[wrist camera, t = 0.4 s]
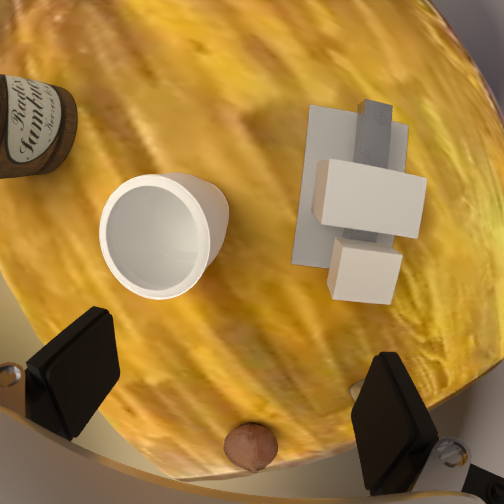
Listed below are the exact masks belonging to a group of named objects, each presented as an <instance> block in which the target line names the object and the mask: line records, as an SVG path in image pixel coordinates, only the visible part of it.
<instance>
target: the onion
mask: <svg viewBox="0 0 504 504" xmlns="http://www.w3.org/2000/svg"><path fill="white" fill-rule="evenodd" d="M242 425H243V426H240V427H237V428H235V429H234V430H233V431H232V432H231V433H229V434H228V435H227V436H226V438H225V443H224V451H225V454H226V456H227V458H228V459H229V460H230V461H231V462H232V463H233V464H235V465H236V466H239V467H241V468H244V469H246V470H248V471H250V472H252V473H257V472H258V471H259V470H262V469H264V468H265V467H266V466H267V465H268V464H270V463H271V462H272V461H273V459H274V458H275V456H276V455H277V452H278V443H277V440H276V438H275V436H274V435H273V433H272V432H271V431H269V430H268V429H266V428H264V427H262V426H260V425H258V424H254V423H246V424H242Z"/></svg>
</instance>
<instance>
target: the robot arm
mask: <svg viewBox="0 0 504 504" xmlns="http://www.w3.org/2000/svg"><path fill="white" fill-rule="evenodd" d="M26 364H27V367H28V368H27V369H26V370H24V369H23V367H22V366H20V365H19V364H16V363H9V362H7V363H3V364H0V504H504V478H502V477H500V476H497V475H495V474H493V473H491V472H488V471H486V470H484V469H482V468H479V467H477V466H475V465H473V464H471V457H472V455H471V451H470V449H469V448H468V446H467V445H466V444H465V443H464V442H463V441H461V440H459V439H457V438H453V437H446V438H442V439H440V440H439V438H438V435H437V434H438V432H437V429H436V427H435V425H434V423H433V421H432V419H431V417H430V415H429V413H428V411H427V409H426V407H425V405H424V403H423V401H422V399H421V397H420V395H419V393H418V391H417V389H416V387H415V385H414V383H413V381H412V379H411V377H410V376H409V374H408V372H407V370H406V368H405V366H404V364H403V363H402V361H401V359H400V357H399V355H398V354H397V353H396V352H380V353H379V355H376V356H375V357H374V358H373V361H372V363H371V366H370V369H369V371H368V374H367V376H366V378H365V381H364V383H363V386H362V388H361V390H360V393H359V395H358V397H357V400H356V402H355V404H354V406H353V408H352V412H351V420H352V424H353V429H354V433H355V438H356V443H357V448H358V453H359V458H360V463H361V468H362V474H363V479H364V485H365V488H366V490H370V495H371V496H369V497H356V498H335V499H298V498H278V497H265V496H256V495H247V494H240V493H232V492H227V491H221V490H215V489H210V488H205V487H200V486H195V485H191V484H187V483H183V482H178V481H175V480H171V479H167V478H163V477H160V476H157V475H154V474H150V473H147V472H144V471H141V470H138V469H135V468H132V467H129V466H126V465H124V464H121V463H118V462H116V461H113V460H110V459H108V458H105V457H103V456H101V455H98V454H96V453H94V452H91V451H89V450H87V449H84V448H83V447H80V446H78V445H76V444H74V443H72V442H71V440H72V439H73V437H75V438H76V437H78V436H79V434H80V433H81V431H82V430H83V429H84V427H85V426H86V424H87V423H88V422H89V420H90V419H91V417H92V416H93V414H94V413H95V412H96V410H97V409H98V407H99V406H100V405H101V403H102V402H103V400H104V399H105V398H106V396H107V395H108V394H109V392H110V391H111V389H112V388H113V387H114V385H115V384H116V382H117V381H118V379H119V377H120V367H119V361H118V354H117V347H116V340H115V332H114V323H113V317H112V315H111V314H110V313H109V311H108V310H107V309H103V308H99V307H96V306H93V307H91V308H90V309H89V310H88V311H86V312H85V313H84V314H83V315H81V316H80V317H79V318H78V319H76V320H75V321H74V322H73V323H72V324H70V325H69V326H68V327H67V328H65V329H64V330H63V331H62V332H61V333H59V334H58V335H57V336H56V337H55V338H53V339H52V340H51V341H50V342H49V343H48V344H46V345H45V346H44V347H43V348H42V349H41V350H39V351H38V352H37V353H36V354H35V355H34V356H33V357H32V358H30V359H29V360H28V361H27V362H26Z"/></svg>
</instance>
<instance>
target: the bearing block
mask: <svg viewBox="0 0 504 504" xmlns="http://www.w3.org/2000/svg"><path fill="white" fill-rule="evenodd" d="M356 126H357V113H355V112H350V111H345V110H339V109H334V108H328V107H322V106H315V105H310V106H309V117H308V127H307V138H306V147H305V157H304V166H303V175H302V183H301V192H300V200H299V208H298V216H297V223H296V231H295V238H294V245H293V253H292V260H291V264H296V265H304V266H312V267H321V268H330V263H331V257H332V252H333V246H334V240H335V237H338V238H342V237H343V231H344V228H351V229H358V230H365V231H371V232H378V235H377V240H376V243H380V244H387V245H390V246H391V247H392V246H393V241H394V236H395V235H397V236H403V237H409V238H415V239H417V238H418V233H419V228H420V223H421V217H422V211H423V205H424V198H425V191H426V184H427V178H423V177H419V176H415V175H411V174H407V173H404V171H405V162H406V152H407V140H408V125H405V124H402V123H398V122H394V121H392V123H391V137H390V149H389V159H388V168H387V169H384V168H379V167H374V166H369V165H364V164H359V163H354V162H353V157H354V148H355V137H356Z"/></svg>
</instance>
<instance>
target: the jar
mask: <svg viewBox="0 0 504 504" xmlns="http://www.w3.org/2000/svg"><path fill="white" fill-rule="evenodd" d="M228 222H229V206H228V202H227V200H226V198H225V196H224V194H223V193H222V192H221V190H220V189H219V188H218V187H216V186H215V185H213V184H212V183H210V182H207V181H204V180H202V179H200V178H198V177H196V176H193V175H190V174H186V173H175V172H174V173H164V174H160V175H158V174H148V175H142V176H138V177H135V178H133V179H130V180H128V181H126V182H125V183H123V184H122V185H120V186H119V187H118V188H117V189H116V190H115V191H114V192H113V193H112V195H111V196H110V197H109V199H108V201H107V202H106V204H105V206H104V209H103V212H102V215H101V219H100V227H99V238H100V245H101V250H102V253H103V256H104V259H105V261H106V263H107V265H108V267H109V269H110V270H111V272H112V273H113V275H114V276H115V277H116V278H117V280H118V281H119V282H120V283H121V284H122V285H124V286H125V287H126V288H127V289H129V290H130V291H132V292H134V293H135V294H138V295H140V296H142V297H146V298H150V299H158V300H162V299H170V298H174V297H177V296H179V295H181V294H183V293H185V292H186V291H188V290H189V289H190V288H191V287H193V286H194V285H195V284H196V282H197V281H198V280H199V278H200V277H201V276H202V274H203V272H204V271H205V269H206V268H207V267H208V266H209V265H210V264H211V263H212V261H213V260H214V259H215V257H216V256H217V254H218V253H219V251H220V249H221V247H222V245H223V242H224V239H225V235H226V229H227V225H228Z"/></svg>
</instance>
